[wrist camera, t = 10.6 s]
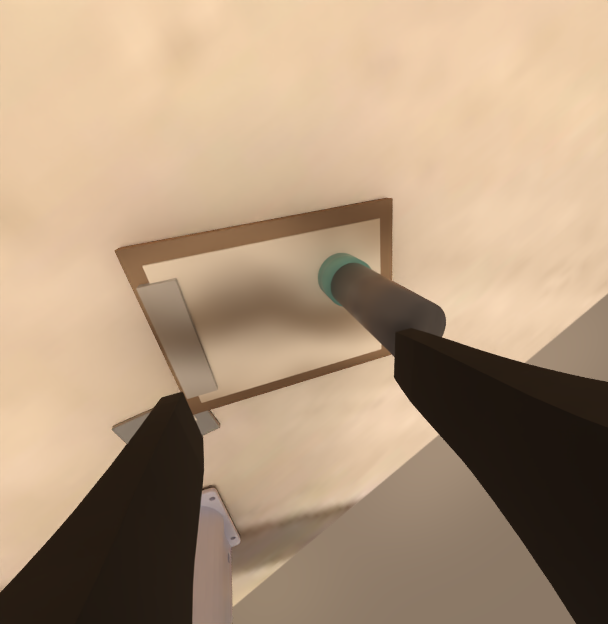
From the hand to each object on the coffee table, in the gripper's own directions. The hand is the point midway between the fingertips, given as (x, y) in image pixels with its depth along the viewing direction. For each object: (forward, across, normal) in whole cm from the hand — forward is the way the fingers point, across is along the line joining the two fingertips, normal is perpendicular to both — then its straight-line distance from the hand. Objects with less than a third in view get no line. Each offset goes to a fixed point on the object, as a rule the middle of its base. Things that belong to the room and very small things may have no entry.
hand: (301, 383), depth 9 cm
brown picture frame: (+10, -1, +2) cm, 10 cm away
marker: (+9, -5, 0) cm, 10 cm away
